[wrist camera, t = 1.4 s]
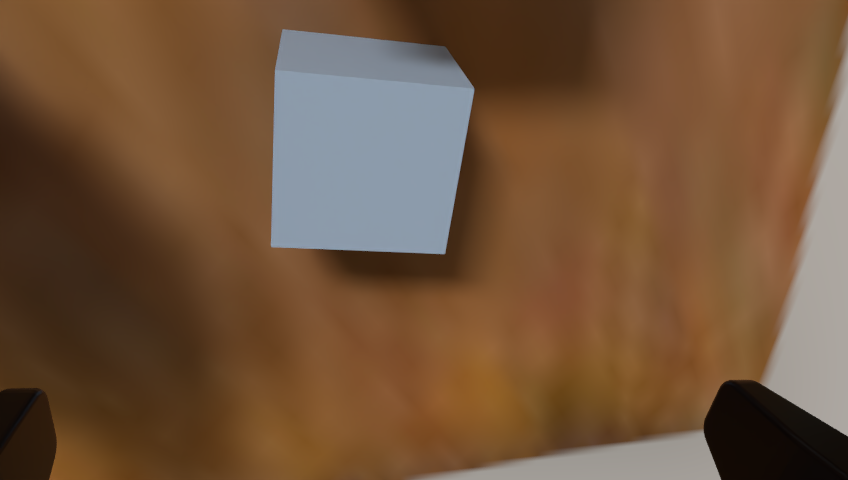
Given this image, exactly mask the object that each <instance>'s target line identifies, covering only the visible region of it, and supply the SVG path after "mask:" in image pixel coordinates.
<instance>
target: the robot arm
mask: <svg viewBox="0 0 848 480" xmlns="http://www.w3.org/2000/svg"><path fill="white" fill-rule="evenodd" d="M704 435H705V438H706V441H707V444H708V446H709V449H710V451H711V454H712V457H713V459H714V462H715V464H716V467H717V469H718V472H719V475H720V477H721V480H848V436H846V435H844V434H843V433H841V432H839V431H838V430H836V429H834V428H833V427H831V426H829V425H828V424H826V423H824V422H822V421H821V420H820V419H818V418H816V417H815V416H813V415H811V414H809V413H808V412H806V411H805V410H803V409H801V408H799V407H798V406H796V405H794V404H793V403H791V402H789V401H788V400H786V399H784V398H783V397H781V396H780V395H778V394H776V393H774V392H773V391H771V390H769V389H768V388H766V387H765V386H763V385H761V384H760V383H758V382H756V381H752V380H729V381H726V382H724V383H723V384H722V385H721V387H720V388H719V390H718V392H717V394H716V397H715V399H714V401H713V403H712V405H711V407H710V409H709V411H708V414H707V416H706V418H705V421H704ZM56 446H57V440H56V433H55V429H54V424H53V420H52V416H51V411H50V407H49V402H48V398H47V395H46V394H45V392H44V391H43V390H41V389H38V388H19V389H6V390H3V391H1V392H0V480H49V478H50V474H51V470H52V466H53V463H54V459H55V454H56Z"/></svg>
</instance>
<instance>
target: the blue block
mask: <svg viewBox="0 0 848 480" xmlns="http://www.w3.org/2000/svg"><path fill="white" fill-rule="evenodd" d="M473 95H474V87H473V86H472V84H471V83H470V81H469V80H468V78H467V77H466V76H465V74H464V73H463V71H462V70H461V68H460V67H459V65H458V64H457V63H456V61H455V60H454V58H453V57H452V55H451V54H450V53H449V51H448V50H447V48H446V47H445V46H436V45H427V44H417V43H408V42H398V41H389V40H379V39H370V38H360V37H351V36H341V35H332V34H322V33H313V32H303V31H294V30H284V29H283V30H282V35H281V41H280V46H279V52H278V57H277V62H276V68H275V96H274V141H273V186H272V230H271V247H284V248H308V249H332V250H357V251H381V252H405V253H430V254H445V251H446V246H447V240H448V234H449V229H450V223H451V218H452V212H453V207H454V201H455V195H456V190H457V184H458V179H459V173H460V168H461V162H462V156H463V151H464V145H465V140H466V134H467V128H468V123H469V117H470V112H471V106H472V101H473Z"/></svg>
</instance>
